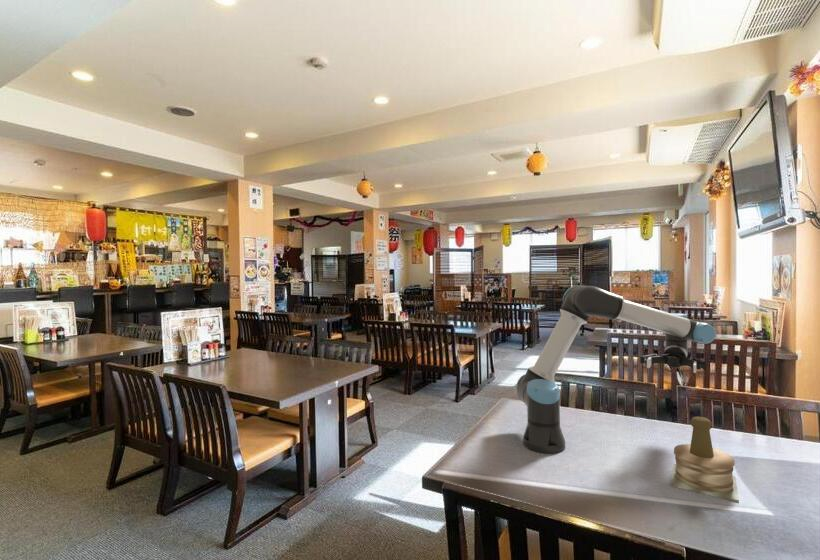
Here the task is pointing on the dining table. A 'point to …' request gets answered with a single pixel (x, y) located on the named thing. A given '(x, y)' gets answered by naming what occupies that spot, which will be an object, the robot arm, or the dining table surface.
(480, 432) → the dining table surface
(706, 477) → the stack of pancakes
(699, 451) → the cork
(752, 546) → the dining table surface
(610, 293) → the robot arm
